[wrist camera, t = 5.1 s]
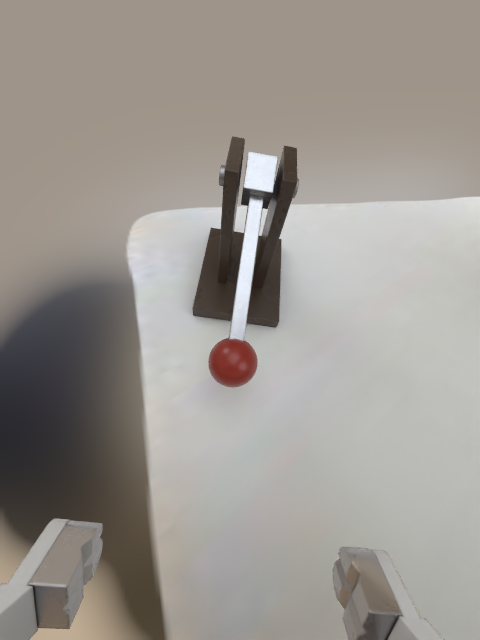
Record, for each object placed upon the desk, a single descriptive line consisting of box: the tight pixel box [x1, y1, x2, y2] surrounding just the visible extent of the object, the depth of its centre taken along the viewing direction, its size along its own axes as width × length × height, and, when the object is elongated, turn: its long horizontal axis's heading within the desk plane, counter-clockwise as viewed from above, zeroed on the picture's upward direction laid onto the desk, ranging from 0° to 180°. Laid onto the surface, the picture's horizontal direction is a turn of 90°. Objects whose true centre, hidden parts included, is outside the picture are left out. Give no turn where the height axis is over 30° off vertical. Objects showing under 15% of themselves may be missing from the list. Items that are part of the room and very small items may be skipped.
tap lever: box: [208, 152, 278, 387], centre depth 19 cm, size 17×4×4 cm, turn 174°
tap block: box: [193, 137, 299, 327], centre depth 24 cm, size 12×9×14 cm
